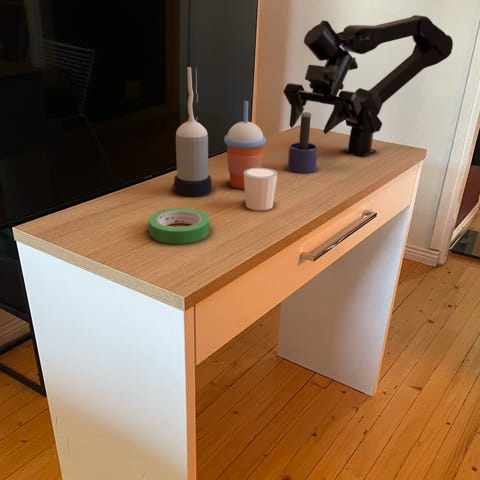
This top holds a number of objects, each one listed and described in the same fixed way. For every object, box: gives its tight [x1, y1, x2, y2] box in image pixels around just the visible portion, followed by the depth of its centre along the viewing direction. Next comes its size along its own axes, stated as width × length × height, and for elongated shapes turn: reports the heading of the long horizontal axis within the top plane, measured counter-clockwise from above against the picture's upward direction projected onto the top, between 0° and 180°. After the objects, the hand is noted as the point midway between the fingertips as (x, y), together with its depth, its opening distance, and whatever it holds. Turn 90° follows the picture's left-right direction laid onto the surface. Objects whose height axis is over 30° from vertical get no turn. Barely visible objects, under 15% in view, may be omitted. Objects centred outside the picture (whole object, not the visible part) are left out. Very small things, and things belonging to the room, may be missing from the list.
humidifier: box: [172, 66, 212, 198], centre depth 120 cm, size 8×8×25 cm
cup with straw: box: [223, 100, 267, 190], centre depth 126 cm, size 9×9×18 cm
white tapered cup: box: [244, 167, 278, 211], centre depth 118 cm, size 7×7×7 cm
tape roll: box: [148, 207, 210, 245], centre depth 107 cm, size 11×11×3 cm
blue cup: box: [287, 142, 319, 174], centre depth 140 cm, size 7×7×6 cm
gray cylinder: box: [298, 111, 312, 150], centre depth 138 cm, size 2×2×12 cm
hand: (307, 129), depth 137 cm, fingers open, 9 cm apart
